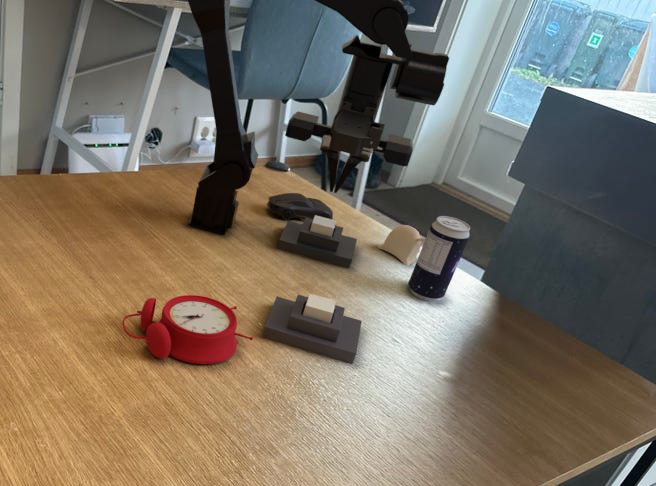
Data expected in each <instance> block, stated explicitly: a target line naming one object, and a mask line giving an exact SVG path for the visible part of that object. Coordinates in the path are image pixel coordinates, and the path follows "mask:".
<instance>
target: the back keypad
mask: <svg viewBox="0 0 656 486" xmlns="http://www.w3.org/2000/svg"><path fill="white" fill-rule="evenodd" d="M312 222H313V219H309V218H305V220H304V221H303V223H300V222H295V221H292V220H287V223H286V224H285V227H284V229H283V231H282V233H281V235H280V237H279V239H278V244H277V247H276V249H277V250H280V251H283V252H287V253H290V254H294V255H298V256H302V257H306V258H308V259H312V260H316V261H320V262H323V263H326V264H329V265H334V266H337V267H341V268H345V269H348V270H350V268H351V265H352V262H353V260H354V255H355V251H356V247H357V241H358V238H355V237H351V236H347V235H343V231H344V227H343V226H339V225H335V227H334V230H333V234H332V237H330V236H326V235H322V234H319V233H315V232H311V231H310V229H311V225H312Z"/></svg>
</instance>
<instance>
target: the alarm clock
mask: <svg viewBox="0 0 656 486" xmlns="http://www.w3.org/2000/svg"><path fill="white" fill-rule="evenodd" d="M156 302H157V298H156V297H149V298H147V299H146V300H145V302H144V303H143V306H142V309H141V310H136V313H132V314H127V315H125V316H124V317H123V319H122V323H121V324H122V329H123V331H124V333H126V334H127V335H128V336H129V337H131V338H133V339H137V340H145V342H146V345H147V348H148V351H149V352H150V353H151V355H153V357H156V358H158V359H165V358H167V357H169V356H171V357H173V358H175V359H177V360H180V361H183V362H186V363H191V364H198V365H212V364H213V365H214V364H218V363H222V362H225V361H227V360H229V359H230V358H231V357H232V356H234V354H235V353H236V351H237V347H238V342H239V341H238V339H237V337H239V338H240V337H241V338H244V339H248V340H249V341H253V340H254V337H253V336H248V335H244V334H241V333H238V332H236V330H237V326H238V321H237V320H238V319H237V315H236V313H235V312H234V311H233V310H237V309H238V307H237V306H236V305H234V306H232V307H229V306H228V305H226V304H225V303H223V302H221V301H219V300H218V299H215V298H211V297H209V296H204V295H197V294H185V295H178V296H175V297H172V298H170V299H169V300H167V301H166V302H165V304H164V306H163V307H162V309H161V310H162V311H161V318H160V320H159V321H154V315H155V309H156ZM137 316H138V317H139V316H140V322H139V323H140V329H142V331H144V332H145V337H144V336H137V335H134V334H132V333H130V332H129V331H128V330H127V328H126V324H125V321H126V320H127V319H128V318H131V317H137Z"/></svg>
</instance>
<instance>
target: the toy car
mask: <svg viewBox="0 0 656 486" xmlns="http://www.w3.org/2000/svg"><path fill="white" fill-rule="evenodd" d="M266 204H267V208H268V209H269V210H270V211H271V212H272V213H274V214H275V215H278V216H279V217H281V219H283V220H284V221H289V220H290V219H299V220H300V221H302V222H304V220H305V218H309V219H314V217H315V215H316V216H320V217H324V218H328V219H332V220H334V219H333V217H334V212H333V210H332V209H331V208H330V206H328V205H327V204H326V203H325V202H323V201H322V200H321V199H318V198H313V197H306V196H305V195H304V194H302V193H299V192H286V193H280V194H276V195H271V196H269V197H268V201H267V203H266Z"/></svg>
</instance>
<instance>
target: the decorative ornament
mask: <svg viewBox="0 0 656 486" xmlns="http://www.w3.org/2000/svg"><path fill="white" fill-rule="evenodd" d="M425 239H426V237H422V236H421V235H420V232H419V231H418V230H417V229H416V228H414V227H413V226H411V225H407V224H400V225H398V226H396V227H395V228H393V229H392V230H391V231H390V232H389V233H388V235H387V236H386V238H385V239H384V242H383V243H382V244H380V245H378V246H377V249H380V250H382V251H385V252H387V253H389V254H391V255H393V256H395V257H396V258H397V259H399V260H400V261H401V262H402V263H403V265H405V266H410V265H411V264H414V263H415V262H417V256H418V254H420V250H421V248H422V247H421V246H423V244H424V242H425Z"/></svg>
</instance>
